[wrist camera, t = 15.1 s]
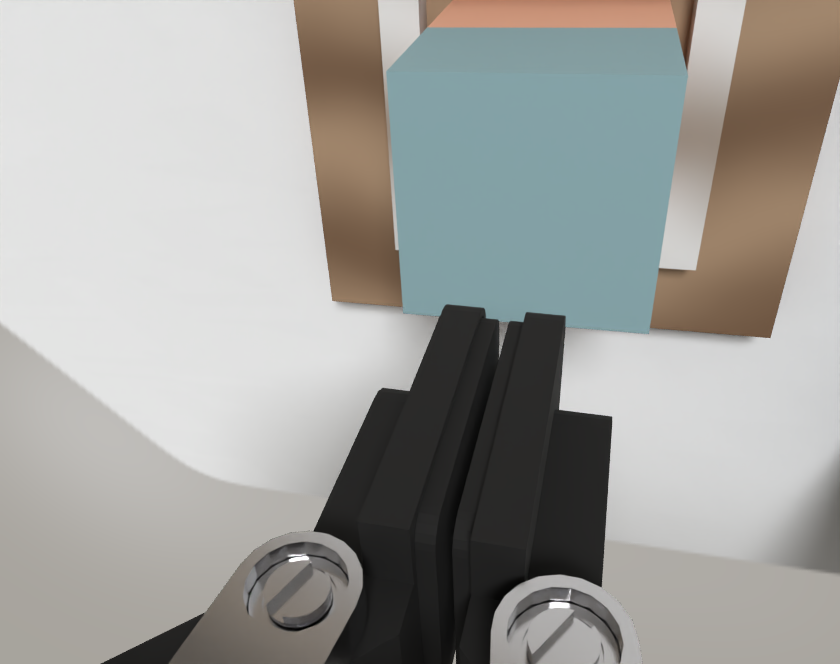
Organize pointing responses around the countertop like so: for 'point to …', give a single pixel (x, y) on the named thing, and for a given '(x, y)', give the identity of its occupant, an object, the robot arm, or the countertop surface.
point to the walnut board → (694, 164)
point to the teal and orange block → (537, 158)
